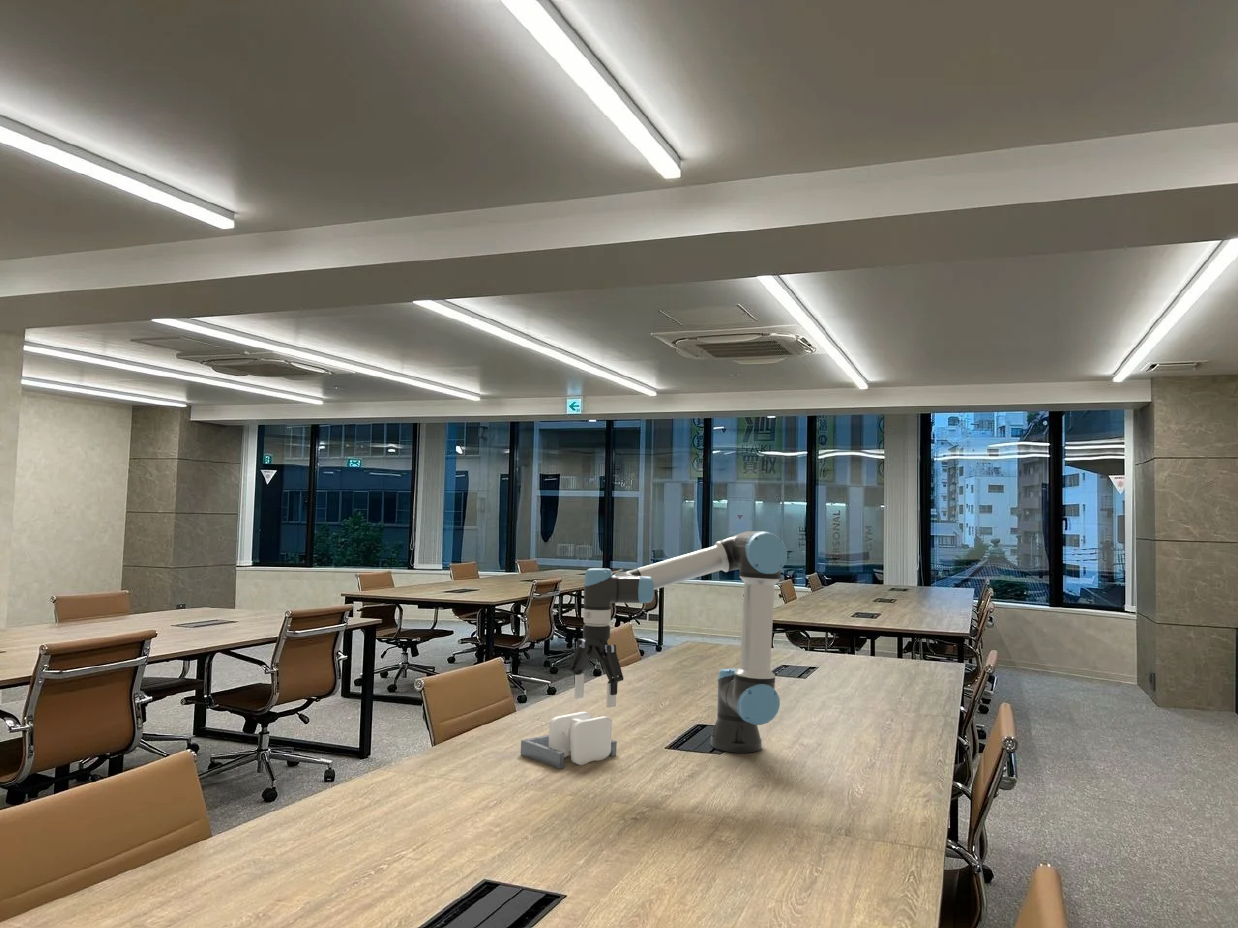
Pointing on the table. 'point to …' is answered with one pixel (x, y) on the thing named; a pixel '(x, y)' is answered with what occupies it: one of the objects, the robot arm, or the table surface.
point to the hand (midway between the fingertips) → (594, 702)
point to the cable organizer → (581, 736)
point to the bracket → (548, 751)
